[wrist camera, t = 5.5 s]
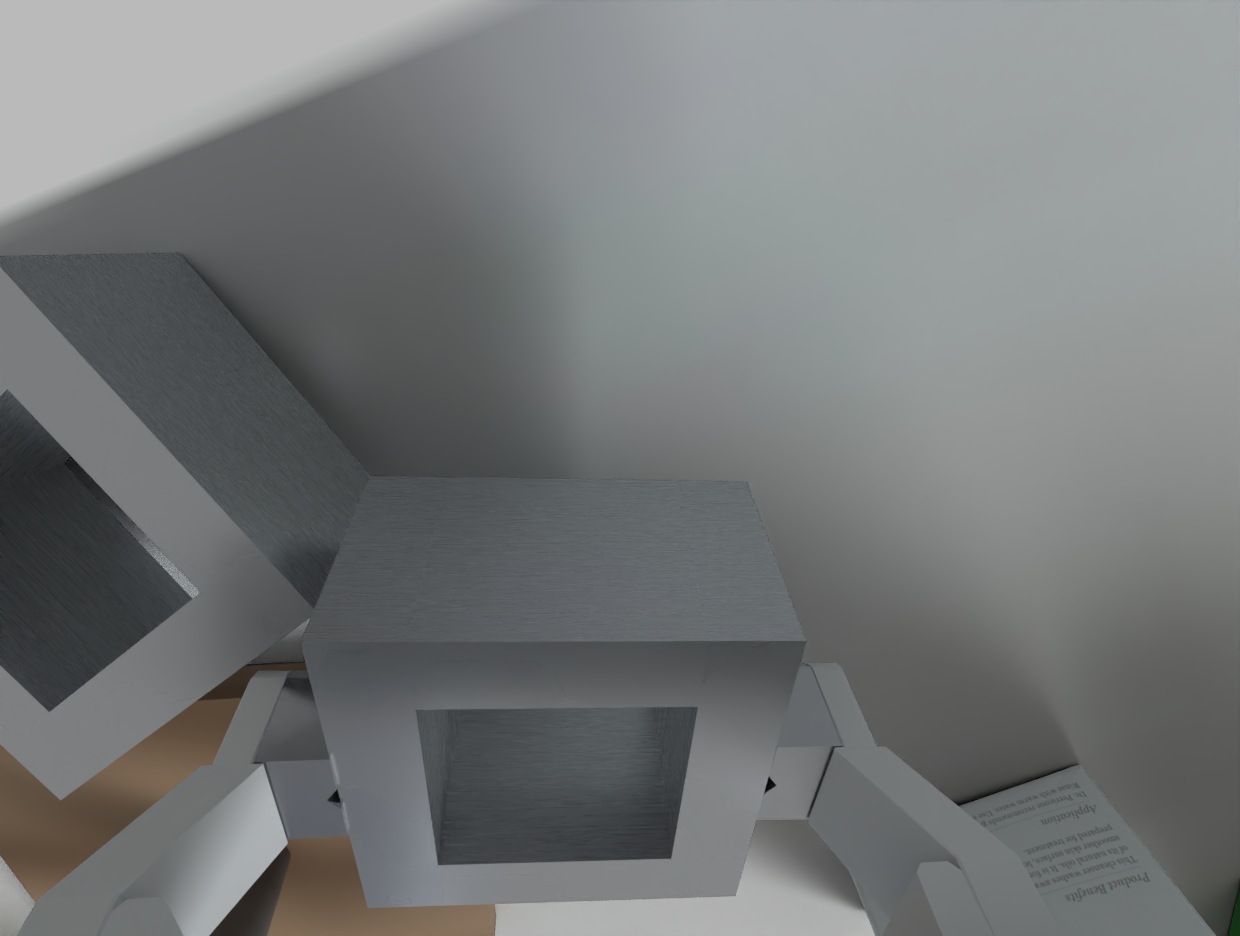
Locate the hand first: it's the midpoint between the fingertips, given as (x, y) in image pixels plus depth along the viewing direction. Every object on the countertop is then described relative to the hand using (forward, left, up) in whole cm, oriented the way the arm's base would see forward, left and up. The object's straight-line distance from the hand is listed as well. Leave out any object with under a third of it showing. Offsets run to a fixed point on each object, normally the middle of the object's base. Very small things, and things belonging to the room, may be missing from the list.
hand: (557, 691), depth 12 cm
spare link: (-2, -7, -4) cm, 8 cm away
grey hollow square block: (0, 0, -2) cm, 2 cm away
